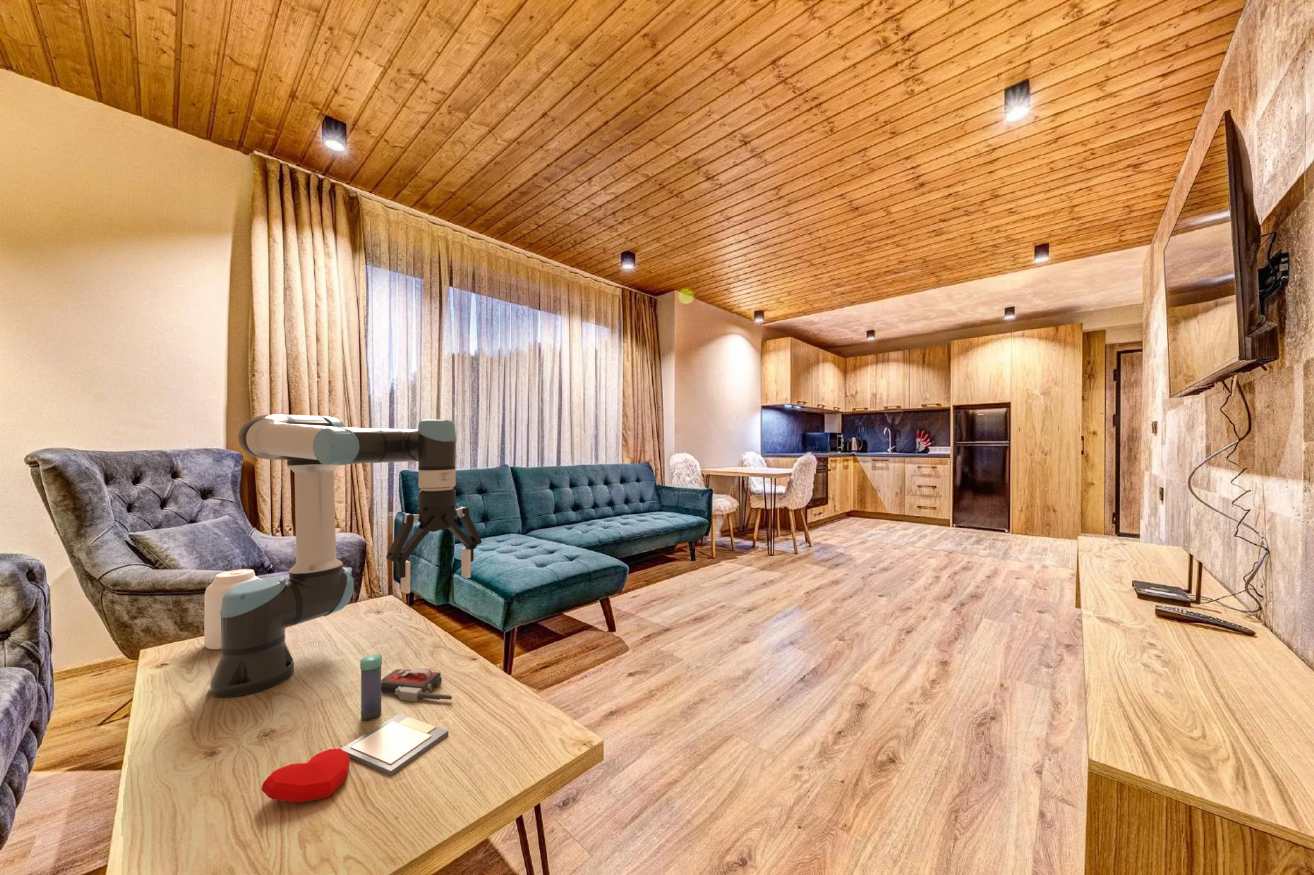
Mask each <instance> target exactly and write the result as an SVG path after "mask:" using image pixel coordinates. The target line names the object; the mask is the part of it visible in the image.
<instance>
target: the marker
mask: <svg viewBox="0 0 1314 875" xmlns="http://www.w3.org/2000/svg"><path fill="white" fill-rule="evenodd" d="M359 663H360V664H359V667H360V669H359V670H360V673H361V674H360V720H361V721H362V722H369V721H373V720H376V719H377V718H379V717H380V716H381V715H382V692H381V680H382V665H383V655H382V654H377V653H376V654H370V655H366V656H364V657H363V658H361V659H360V661H359Z"/></svg>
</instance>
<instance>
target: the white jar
mask: <svg viewBox="0 0 1314 875" xmlns="http://www.w3.org/2000/svg"><path fill="white" fill-rule="evenodd" d="M256 579H260V577H258V576H256V573H255V570H254V569H251V568H241V569H240V568H239V569H233V570H227V571H224V572H220V573H218V574H216V575H215V576H214V578H213V582H212V583H211V584H209V585H208V586H207V587H206V589H205V591H204V612H203V613H204V616H203V617H204V619H203V620H204V622H203V623H204V624H203V625H204V626H203V627H204V628H203V629H204V630H203V631H204V632H203V633H204V634H203V635H204V636H203V640H204V641H203V642H204V643H203V644H204V646H205V648H206V649H209V650H221V616H220V611H221V607H222V598H223V596H224V595H225V594H226V593H227V592H228V591H229V590H230V589H232V588H234V587H236V586H238V585H241V584H243V583H246V582H249V581H252V580H256Z"/></svg>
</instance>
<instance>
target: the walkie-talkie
mask: <svg viewBox="0 0 1314 875" xmlns="http://www.w3.org/2000/svg"><path fill="white" fill-rule="evenodd" d="M442 679H443V678H442V677H441V672H437V671H432V670H431V669H430V668H420V667H415V668H413V669H406V668H401V669H400V668H399V669H397V668H396V669H395V670H392V671H391V672H389V673H388V674H387V675H385V676H384V677H382V678H381V694H390V695H391V694H392V695H395V696H397V697H398V699H399V700H400V701H410V702H411V701H412V702H413V703H414V702H416V703H417V701H418V700H420V699H421V700H423V699H425V700H427V699H429V700H438V701H439V700H448V701H449V700H452V698H453V697H452V695H451V694H450V695H448V694H439V693H430V692H431V691H433V690H434V689H435V688H436V687H437V688H438V687H440V685H441V684H442Z"/></svg>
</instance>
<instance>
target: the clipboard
mask: <svg viewBox="0 0 1314 875" xmlns="http://www.w3.org/2000/svg"><path fill="white" fill-rule="evenodd" d="M447 736H449V730H447V729H444V728H442V727H439V726H435V725H433V724H430V723H427V722H426V721H425V722H424V721H421V720H419V719H416V718H413V717H410V716H408V715H405V714H402V713H397V715H395V716H393V717H391V718H390V719H388V720H386V721H385V722H383V723H382V724H380V725H378V726H376V727H374V728H373V729H371V730H370V731H368V732H366V733H364V734H363V735H361V736H359V737H357V738H356V739H355V740H352V741H351V742H349V743H348V744H346V745H344V746H343V747H340V749H342V750H343V751H344V752H346V753H347V754H348V755H349V756H350V760H354V761H356V762H358V763H360V764H361V763H362V764H363V765H366V766H368V767H370V768H373V769H375V770H377V771H379V772H381V773H384V774H386V775H389V776H392V775H394V774H396V773H397V772H398V771H400V770H401V769H403V768H404V767H406V766H407V765H409V764H410V763H411V762H412V761H414V760H416V759H417V758H418V757H419V756H421V755H423V753H425V752H426V751H428V750H429V749H431V748H432V747H433V746H435V745H437V744H438V743H439V742H440V741H441V740H443V739H445V738H446V737H447Z"/></svg>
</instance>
